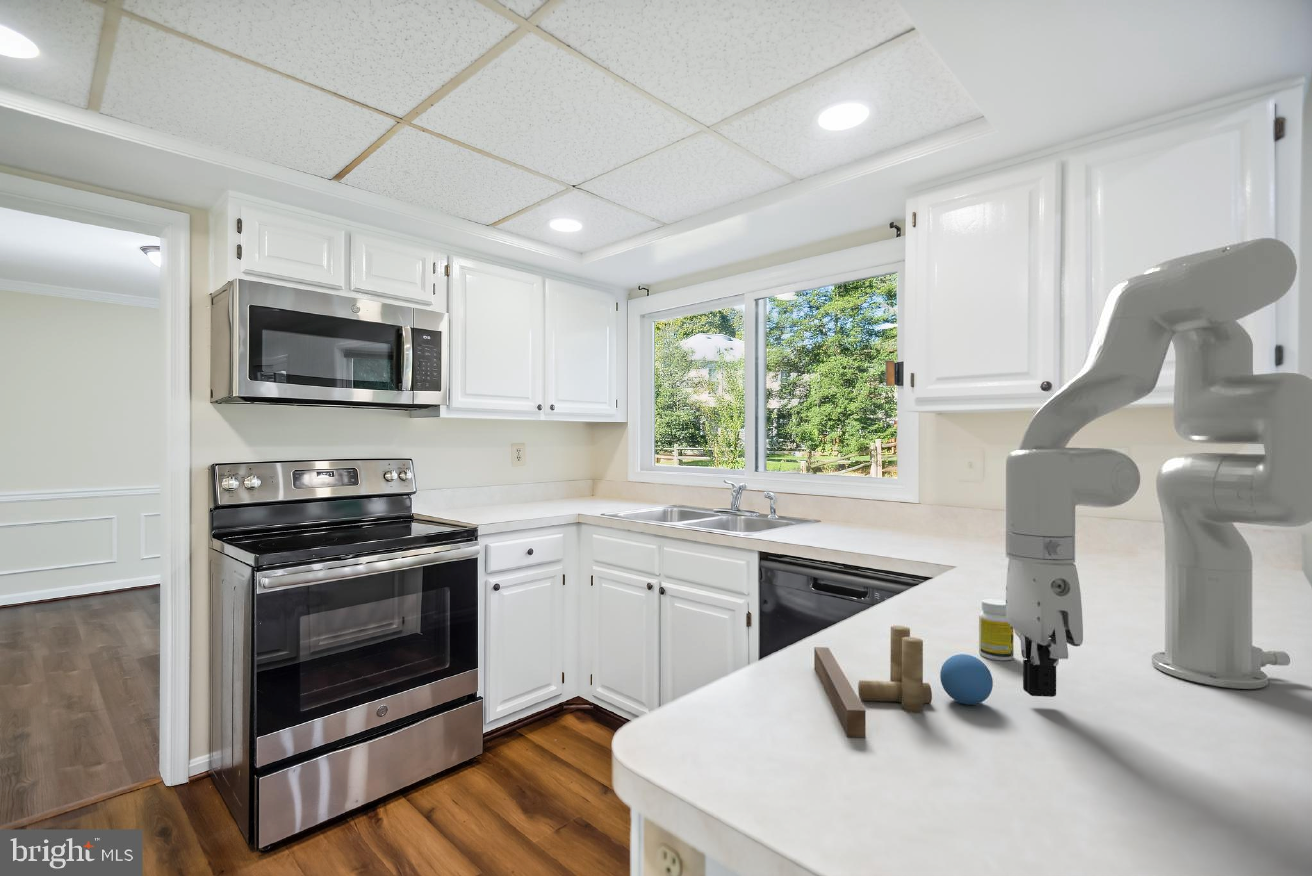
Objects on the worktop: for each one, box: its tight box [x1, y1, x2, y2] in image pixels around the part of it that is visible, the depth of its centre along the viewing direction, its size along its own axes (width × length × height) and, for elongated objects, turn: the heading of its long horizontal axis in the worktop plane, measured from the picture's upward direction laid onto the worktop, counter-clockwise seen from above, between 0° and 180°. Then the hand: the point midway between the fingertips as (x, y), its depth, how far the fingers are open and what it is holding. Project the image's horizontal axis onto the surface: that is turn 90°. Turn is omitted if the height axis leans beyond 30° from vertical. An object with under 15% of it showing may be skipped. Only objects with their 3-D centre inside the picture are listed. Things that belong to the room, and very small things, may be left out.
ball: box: [939, 653, 994, 706], centre depth 81 cm, size 6×6×6 cm
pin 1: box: [889, 625, 911, 682], centre depth 84 cm, size 2×2×8 cm
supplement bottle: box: [978, 598, 1015, 662], centre depth 99 cm, size 5×5×8 cm
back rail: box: [813, 646, 867, 739], centre depth 82 cm, size 2×22×3 cm, turn 175°
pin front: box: [857, 679, 933, 704], centre depth 81 cm, size 2×2×8 cm
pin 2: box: [901, 636, 924, 714], centre depth 79 cm, size 2×2×8 cm
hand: (1039, 693), depth 80 cm, fingers closed
